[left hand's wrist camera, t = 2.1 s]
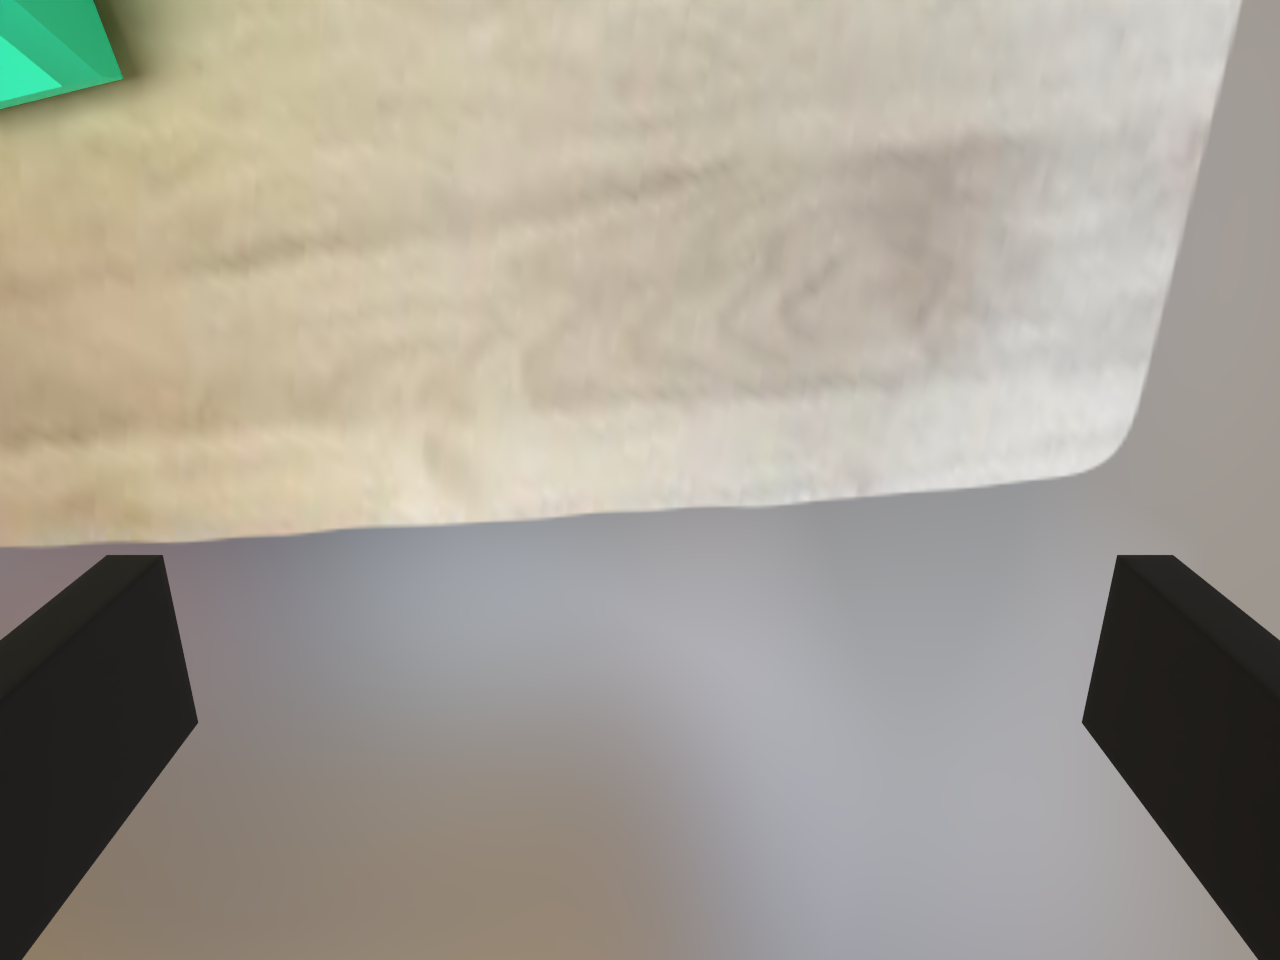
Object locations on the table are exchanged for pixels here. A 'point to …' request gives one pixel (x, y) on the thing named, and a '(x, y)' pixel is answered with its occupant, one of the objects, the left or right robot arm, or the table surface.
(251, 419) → the table surface
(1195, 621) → the left robot arm
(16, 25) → the camera mount
